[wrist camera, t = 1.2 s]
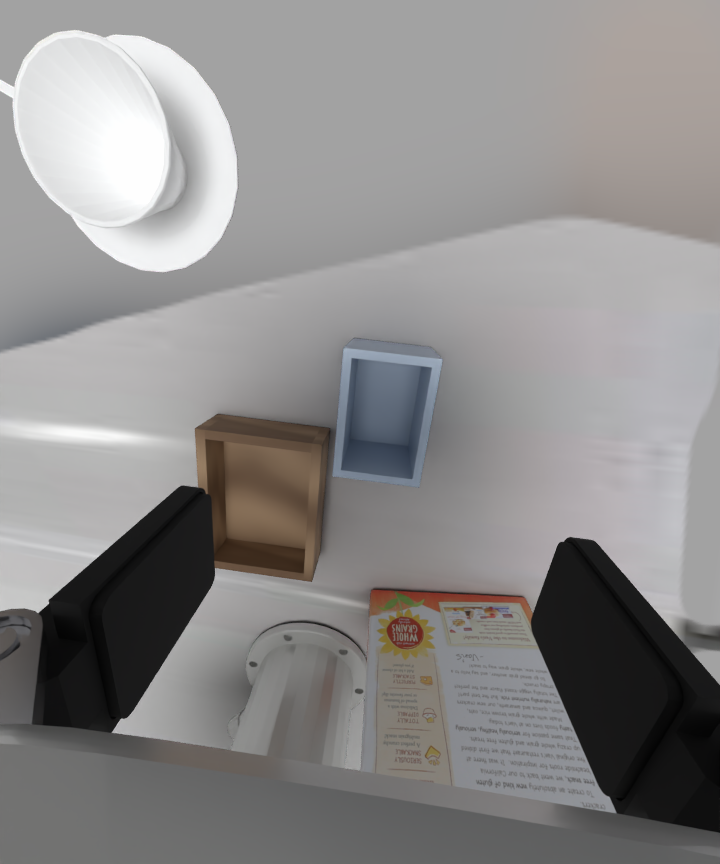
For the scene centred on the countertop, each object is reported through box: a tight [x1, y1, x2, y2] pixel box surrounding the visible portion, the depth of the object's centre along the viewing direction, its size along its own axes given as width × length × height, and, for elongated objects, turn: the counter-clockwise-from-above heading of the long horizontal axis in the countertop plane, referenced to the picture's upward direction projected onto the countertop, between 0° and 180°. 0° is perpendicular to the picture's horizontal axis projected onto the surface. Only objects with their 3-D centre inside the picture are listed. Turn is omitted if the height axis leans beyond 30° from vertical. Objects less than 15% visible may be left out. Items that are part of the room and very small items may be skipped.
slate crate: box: [332, 338, 443, 488], centre depth 24 cm, size 8×6×6 cm
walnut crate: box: [195, 414, 330, 582], centre depth 28 cm, size 12×9×4 cm
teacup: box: [0, 30, 238, 273], centre depth 20 cm, size 12×12×5 cm
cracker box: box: [361, 590, 616, 813], centre depth 23 cm, size 14×6×21 cm, turn 90°
